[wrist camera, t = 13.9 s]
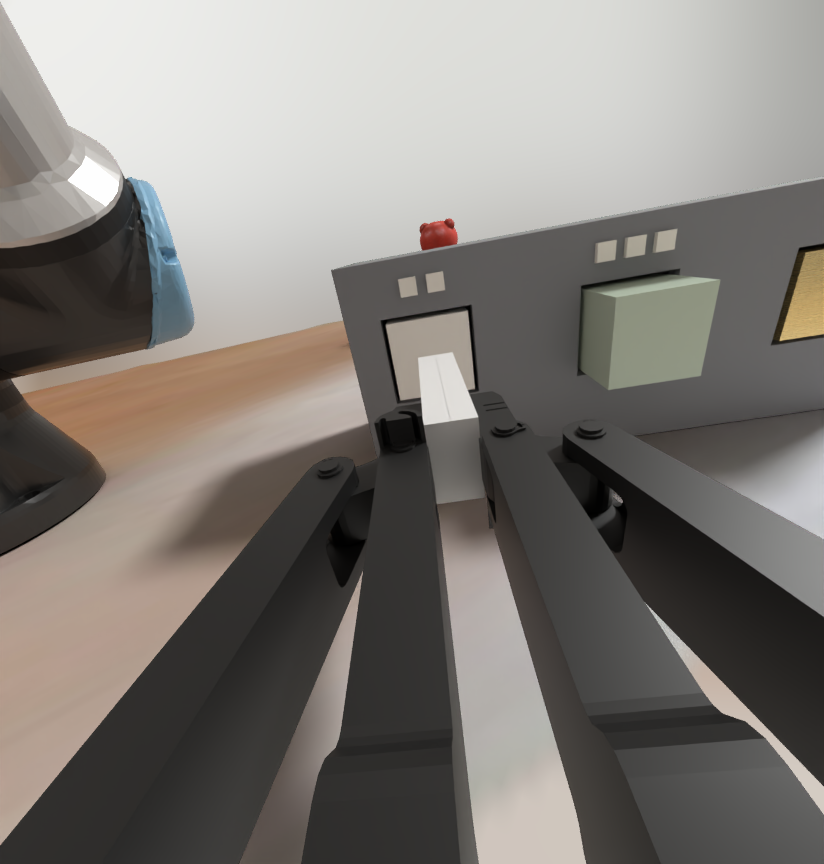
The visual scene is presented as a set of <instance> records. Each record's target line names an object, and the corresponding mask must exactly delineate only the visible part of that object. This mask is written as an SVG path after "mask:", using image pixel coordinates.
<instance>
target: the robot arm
mask: <svg viewBox="0 0 824 864" xmlns="http://www.w3.org/2000/svg"><path fill="white" fill-rule="evenodd" d="M176 254H177V253H176V250H175V247H174V244H173V240H172V236H171V233H170V230H169V227H168V224H167V221H166V218H165V215H164V212H163V210H162V207H161V204H160V202H159V199H158V197H157V195H156V192H155V190H154V188H153V187H152V186H151V185H150V184H149V183H148V182H146V181H142V180H137V179H133V178H132V177H130V178H127V179H125V178H124V176H123V174H122V172H121V170H120V167H119V166H118V164H117V162H116V160H115V159H114V157H113V156H112V155H111V153H110V152H109V151H108V150H107V149H106V148H105V147H104V146H102V145H101V144H100V143H98V142H97V141H96V140H94V139H92V138H91V137H89V136H87V135H85V134H83V133H82V132H80V131H78V130H76V129H74V128H72V127H70V126H68V125H67V123H66V121H65V119H64V118H63V116H62V114H61V112H60V110H59V108H58V106H57V105H56V103H55V101H54V99H53V97H52V95H51V94H50V92H49V90H48V88H47V86H46V85H45V83H44V81H43V79H42V77H41V76H40V74H39V72H38V70H37V68H36V66H35V65H34V63H33V61H32V59H31V57H30V56H29V54H28V52H27V50H26V49H25V46H24V45H23V43H22V41H21V39H20V37H19V36H18V34H17V32H16V30H15V29H14V27H13V25H12V23H11V21H10V19H9V18H8V16H7V14H6V12H5V10H4V8H3V7H2V5H1V3H0V554H1V553H3V552H5V551H7V550H9V549H11V548H13V547H15V546H17V545H19V544H21V543H23V542H25V541H27V540H29V539H30V538H32V537H34V536H36V535H38V534H39V533H41V532H43V531H44V530H46V529H48V528H49V527H51V526H53V525H54V524H56V523H57V522H59V521H61V520H62V519H64V518H65V517H67V516H68V515H69V514H71V513H72V512H74V511H75V510H76V509H78V508H79V507H80V506H82V505H83V504H84V503H85V502H87V501H88V500H89V499H90V498H91V497H92V496H93V495H94V494H95V493H96V492H97V491H98V490H99V489H100V488H101V486H102V485H103V483H104V481H105V479H106V473H105V472H104V470H103V469H102V467H101V466H100V464H99V463H98V461H97V460H96V458H95V457H94V455H93V454H92V453H91V452H90V451H88V450H87V449H86V448H84V447H83V446H82V445H80V444H79V443H77V442H76V441H75V440H73V439H72V438H71V437H69V436H68V435H67V434H65V433H64V432H63V431H61V430H60V429H59V428H57V427H56V426H55V425H53V424H52V423H50V422H49V421H48V420H46V419H45V418H44V417H42V416H41V415H40V414H38V413H37V412H36V411H34V410H33V409H32V408H31V407H30V406H29V404H28V403H27V402H26V400H25V399H24V398H23V396H22V395H21V394H20V392H19V391H18V389H17V388H16V387H15V385H14V384H13V382H12V380H11V378H16V377H20V376H25V375H28V374H33V373H37V372H42V371H47V370H51V369H56V368H61V367H65V366H70V365H74V364H79V363H83V362H88V361H93V360H97V359H102V358H106V357H111V356H116V355H120V354H125V353H129V352H134V351H138V350H143V349H151V348H153V347H155V345H158V344H162V343H165V342H168V341H172V340H175V339H178V338H182V337H183V336H185V335H187V334H188V333H189V332H190V331H191V330H192V328H193V325H194V313H193V308H192V304H191V300H190V296H189V293H188V289H187V285H186V282H185V278H184V275H183V272H182V268H181V265H180V262H179V260H178V258H177V256H176ZM418 363H419V377H420V390H421V403H418V404H411V405H405V406H398V407H396V408H395V409H394V410H393V411H390V412H388V413H385V414H383V415H381V416H380V417H378V418H377V419H376V421H375V422H374V425H375V430H376V434H377V438H378V442H379V446H380V454H379V457H378V458H377V459H375V460H373V461H371V462H369V463H366V464H364V465H361V466H358V467H355V465H354V462H353V460H351V459H349V458H347V457H331V458H328V459H324V460H322V461H321V462H319V463H317V464H315V465H314V466H312V467H311V468H310V469H309V470H308V471H307V472H306V474H305V475H304V476H303V477H302V478H301V480H300V481H299V482H298V483H297V485H296V486H295V487H294V488H293V489H292V491H291V492H290V493H289V494H288V496H287V497H286V498H285V499H284V500H283V502H282V503H281V504H280V505H279V507H278V508H277V509H276V510H275V511H274V513H273V514H272V515H271V516H270V517H269V519H268V520H267V521H266V522H265V524H264V525H263V526H262V527H261V528H260V530H259V531H258V532H257V533H256V535H255V536H254V537H253V538H252V539H251V541H250V542H249V543H248V544H247V546H246V547H245V548H244V549H243V550H242V552H241V553H240V554H239V555H238V556H237V558H236V559H235V560H234V561H233V563H232V564H231V565H230V566H229V567H228V569H227V570H226V571H225V572H224V574H223V575H222V576H221V577H220V578H219V580H218V581H217V582H216V583H215V585H214V586H213V587H212V588H211V589H210V591H209V592H208V593H207V594H206V595H205V597H204V598H203V599H202V600H201V602H200V603H199V604H198V605H197V606H196V608H195V609H194V610H193V611H192V613H191V614H190V615H189V616H188V617H187V619H186V620H185V621H184V622H183V624H182V625H181V626H180V627H179V628H178V630H177V631H176V632H175V633H174V634H173V636H172V637H171V638H170V639H169V641H168V642H167V643H166V644H165V645H164V647H163V648H162V649H161V650H160V652H159V653H158V654H157V655H156V656H155V658H154V659H153V660H152V661H151V663H150V664H149V665H148V666H147V667H146V669H145V670H144V671H143V672H142V673H141V675H140V676H139V677H138V678H137V680H136V681H135V682H134V683H133V684H132V686H131V687H130V688H129V689H128V691H127V692H126V693H125V694H124V695H123V697H122V698H121V699H120V700H119V702H118V703H117V704H116V705H115V706H114V708H113V709H112V710H111V711H110V712H109V714H108V715H107V716H106V717H105V719H104V720H103V721H102V722H101V723H100V725H99V726H98V727H97V728H96V730H95V731H94V732H93V733H92V734H91V736H90V737H89V738H88V739H87V741H86V742H85V743H84V744H83V745H82V747H81V748H80V749H79V750H78V751H77V753H76V754H75V755H74V756H73V758H72V759H71V760H70V761H69V762H68V764H67V765H66V766H65V767H64V769H63V770H62V771H61V772H60V773H59V775H58V776H57V777H56V778H55V780H54V781H53V782H52V783H51V784H50V786H49V787H48V788H47V789H46V790H45V792H44V793H43V794H42V795H41V797H40V798H39V799H38V800H37V801H36V803H35V804H34V805H33V806H32V808H31V809H30V810H29V811H28V812H27V814H26V815H25V816H24V817H23V819H22V820H21V821H20V822H19V823H18V825H17V826H16V827H15V828H14V829H13V831H12V832H11V833H10V834H9V836H8V837H7V838H6V839H5V840H4V842H3V843H2V844H1V845H0V864H239V862H240V859H241V857H242V855H243V852H244V850H245V848H246V845H247V843H248V841H249V838H250V836H251V833H252V831H253V829H254V826H255V824H256V822H257V819H258V817H259V815H260V812H261V810H262V807H263V805H264V803H265V800H266V798H267V796H268V793H269V791H270V789H271V786H272V784H273V781H274V779H275V777H276V774H277V772H278V770H279V767H280V765H281V763H282V760H283V758H284V755H285V753H286V751H287V748H288V746H289V744H290V741H291V739H292V737H293V734H294V732H295V729H296V727H297V725H298V722H299V720H300V718H301V715H302V713H303V711H304V708H305V706H306V704H307V701H308V699H309V696H310V694H311V692H312V689H313V687H314V685H315V682H316V680H317V678H318V675H319V673H320V670H321V668H322V666H323V663H324V661H325V659H326V656H327V654H328V652H329V649H330V647H331V644H332V642H333V640H334V637H335V635H336V633H337V630H338V628H339V626H340V623H341V621H342V618H343V616H344V614H345V611H346V609H347V607H348V604H349V602H350V600H351V597H352V595H353V592H354V590H355V588H356V585H357V583H358V581H359V578H360V576H361V574H362V571H363V576H362V583H361V590H360V597H359V605H358V612H357V619H356V626H355V633H354V641H353V648H352V655H351V662H350V669H349V676H348V684H347V691H346V698H345V705H344V712H343V720H342V727H341V732H340V737H339V740H338V743H337V746H336V748H335V749H334V750H333V751H332V752H331V753H330V754H329V755H328V756H327V757H326V758H325V760H324V762H323V764H322V767H321V769H320V772H319V774H318V778H317V782H316V787H315V791H314V795H313V800H312V804H311V810H310V816H309V822H308V828H307V833H306V839H305V845H304V851H303V856H302V862H301V864H479V863H478V855H477V848H476V841H475V834H474V826H473V819H472V810H471V801H470V792H469V783H468V774H467V765H466V756H465V747H464V738H463V729H462V720H461V711H460V702H459V693H458V684H457V675H456V666H455V658H454V649H453V640H452V631H451V622H450V613H449V604H448V595H447V586H446V577H445V568H444V559H443V550H442V541H441V532H440V523H439V514H438V508H437V504H442V503H449V502H457V501H464V500H472V499H479V498H485V490H486V493H487V504H488V516H489V528H494V531H495V535H496V538H497V541H498V545H499V548H500V552H501V555H502V559H503V562H504V565H505V569H506V572H507V576H508V579H509V582H510V586H511V589H512V593H513V596H514V600H515V603H516V606H517V610H518V613H519V617H520V620H521V624H522V627H523V630H524V634H525V637H526V641H527V644H528V648H529V651H530V654H531V658H532V661H533V665H534V668H535V672H536V675H537V678H538V682H539V685H540V689H541V692H542V696H543V699H544V702H545V706H546V709H547V713H548V716H549V720H550V723H551V726H552V730H553V733H554V737H555V740H556V743H557V747H558V750H559V754H560V757H561V761H562V764H563V767H564V771H565V774H566V778H567V781H568V785H569V788H570V791H571V795H572V798H573V802H574V806H575V809H576V813H577V818H578V822H579V827H580V833H581V838H582V844H583V850H584V855H585V860H586V864H824V815H823V813H822V812H821V811H820V809H819V808H818V806H817V805H816V804H815V802H814V801H813V800H812V798H811V797H810V795H809V794H808V793H807V791H806V790H805V788H804V787H803V786H802V784H801V783H800V781H799V780H798V779H797V778H796V776H795V775H794V773H793V772H792V770H791V769H790V768H789V766H788V765H787V764H786V763H785V761H784V760H783V759H782V758H781V757H780V755H778V753H777V752H776V751H775V749H774V748H773V747H772V746H771V745H770V743H769V742H768V741H767V740H766V739H765V738H764V737H763V736H762V735H761V734H760V733H758V732H757V731H756V730H755V729H754V728H752V727H751V726H750V725H749V724H748V723H746V722H745V721H742V720H739V719H736V718H734V717H730V716H728V715H725V714H723V713H721V712H720V711H719V710H718V709H717V708H716V707H714V706H713V704H712V703H711V702H710V701H709V699H708V698H707V697H706V695H705V694H704V693H703V691H702V690H701V688H700V687H699V685H698V684H697V682H696V680H695V679H694V677H693V676H692V674H691V673H690V671H689V670H688V668H687V667H686V665H685V664H684V662H683V661H682V659H681V657H680V656H679V654H678V653H677V651H676V650H675V648H674V647H673V645H672V644H671V642H670V641H669V639H668V638H667V636H666V635H665V633H664V631H663V630H662V628H661V627H660V625H659V624H658V622H657V621H656V619H655V618H654V616H653V615H652V613H651V612H650V610H649V608H648V607H647V605H648V606H649V607H650V608H651V609H652V610H653V611H654V612H655V613H656V614H657V615H658V616H659V617H660V618H661V619H662V620H663V621H664V622H665V623H666V624H667V625H668V626H669V627H670V628H671V630H672V631H673V632H674V633H675V634H676V635H677V636H678V637H679V638H680V639H681V640H682V641H683V642H684V643H685V644H686V645H687V646H688V647H689V648H690V649H691V650H692V651H693V652H694V653H695V654H696V655H697V656H698V657H699V658H700V659H701V660H702V661H703V662H704V663H705V665H706V666H707V667H708V668H709V669H710V670H711V671H712V672H713V673H714V674H715V675H716V676H717V677H718V678H719V679H720V680H721V681H722V682H723V683H724V684H725V685H726V686H727V687H728V688H729V689H730V690H731V691H732V692H733V693H734V694H735V695H736V696H737V697H738V698H739V700H740V701H741V702H742V703H743V704H744V705H745V706H746V707H747V708H748V709H749V710H750V711H751V712H752V713H753V714H754V715H755V716H756V717H757V718H758V719H759V720H760V721H761V722H762V723H763V724H764V725H765V726H766V727H767V728H768V729H769V730H770V731H771V732H772V733H773V734H774V736H776V738H777V739H779V741H780V742H781V743H782V744H783V745H784V746H785V747H786V748H787V749H788V750H789V751H790V752H791V753H792V754H793V755H794V756H795V757H796V758H797V759H798V760H799V761H800V762H801V763H802V764H803V765H804V766H805V767H806V768H807V770H808V771H810V773H811V774H812V775H814V777H815V778H816V779H817V780H818V781H819V782H820V783H821V784H822V785H823V786H824V539H822V538H820V537H818V536H816V535H815V534H813V533H811V532H809V531H807V530H805V529H804V528H802V527H800V526H798V525H796V524H794V523H793V522H791V521H789V520H787V519H785V518H783V517H782V516H780V515H778V514H776V513H774V512H772V511H770V510H769V509H767V508H765V507H763V506H761V505H759V504H758V503H756V502H754V501H752V500H750V499H748V498H747V497H745V496H743V495H741V494H739V493H737V492H736V491H734V490H732V489H730V488H728V487H726V486H725V485H723V484H721V483H719V482H717V481H715V480H714V479H712V478H710V477H708V476H706V475H704V474H703V473H701V472H699V471H697V470H695V469H693V468H692V467H690V466H688V465H686V464H684V463H682V462H681V461H679V460H677V459H675V458H673V457H671V456H670V455H668V454H666V453H664V452H662V451H660V450H659V449H657V448H655V447H653V446H651V445H649V444H648V443H646V442H644V441H642V440H640V439H638V438H637V437H635V436H633V435H631V434H629V433H627V432H625V431H624V430H622V429H620V428H618V427H616V426H614V425H612V424H610V423H607V422H604V421H598V420H595V419H589V420H588V419H583V420H579V421H574V422H571V423H569V424H567V425H566V426H565V427H564V428H563V437H549V436H538V435H535V434H534V432H533V431H532V429H531V428H530V427H529V426H528V425H527V424H526V423H524V422H521V421H518V420H516V419H515V418H514V416H513V414H512V413H511V411H510V410H509V408H508V406H507V405H506V403H505V401H504V400H503V398H502V396H501V395H499V394H497V393H495V392H493V391H489V392H483V393H476V394H470V395H469V392H468V390H467V387H466V385H465V382H464V380H463V377H462V375H461V372H460V370H459V367H458V365H457V362H456V360H455V357H454V355H453V352H451V353H445V354H438V355H432V356H426V357H420V358H418ZM484 487H485V488H484ZM614 491H615V492H616V493H617V494H618V495H619V496H620V497H621V498H622V500H623V503H620V502H618V501H617V500H616V499H615V498H613V495H614ZM645 603H646V604H647V605H646V604H645Z"/></svg>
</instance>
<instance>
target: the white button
mask: <svg viewBox="0 0 824 864" xmlns="http://www.w3.org/2000/svg"><path fill="white" fill-rule="evenodd" d="M386 329H387V334H388V339H389V344H390V349H391V355H392V360H393V365H394V370H395V375H396V380H397V385H398V390H399V396H400V401H401V400H407V399H413V398H420V397H421V390H420V377H419V363H418V358H420V357H426V356H432V355H438V354H445V353H451V352H453V355H454V357H455V360H456V362H457V365H458V367H459V370H460V372H461V375H462V377H463V380H464V382H465V385H466V387H467V390H471V389H475V384H474V373H473V362H472V351H471V340H470V330H469V319H468V311H467V310H466V308H465V307H464V306H461V307H455V308H449V309H443V310H437V311H432V312H426V313H420V314H414V315H409V316H403V317H397V318H391V319H388V320H387V323H386Z"/></svg>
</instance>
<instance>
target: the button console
mask: <svg viewBox="0 0 824 864" xmlns="http://www.w3.org/2000/svg"><path fill="white" fill-rule="evenodd" d="M823 243H824V176H823V177H817V178H812V179H805V180H800V181H794V182H789V183H783V184H778V185H773V186H767V187H762V188H757V189H751V190H746V191H741V192H735V193H730V194H724V195H719V196H713V197H708V198H703V199H697V200H692V201H687V202H681V203H676V204H670V205H665V206H660V207H654V208H649V209H644V210H638V211H633V212H628V213H622V214H617V215H612V216H606V217H601V218H595V219H590V220H585V221H579V222H574V223H569V224H563V225H558V226H552V227H547V228H542V229H536V230H531V231H526V232H520V233H516V234H509V235H504V236H499V237H494V238H488V239H483V240H477V241H472V242H466V243H462V244H456V245H450V246H445V247H440V248H434V249H429V250H424V251H418V252H413V253H407V254H402V255H397V256H391V257H386V258H381V259H375V260H370V261H365V262H359V263H354V264H351V265H347V266H344V267H341V268H337V269H334V270H331V272H332V276H333V280H334V284H335V288H336V292H337V296H338V300H339V304H340V308H341V313H342V317H343V321H344V325H345V329H346V333H347V337H348V341H349V345H350V349H351V353H352V357H353V361H354V365H355V369H356V373H357V378H358V382H359V386H360V390H361V394H362V398H363V402H364V406H365V410H366V414H367V418H368V422H369V426H370V430H371V434H372V438H373V443H374V447H375V451H376V455H377V458H378V457H379V454H380V446H379V442H378V438H377V434H376V430H375V425H374V422H375V421H376V419H377V418H378V417H380V416H381V415H383V414H385V413H388V412H390V411H393V410H394V409H395V408H396V407H398V406H405V405H411V404H418V403H421V397H420V398H413V399H407V400H401V401H400V396H399V390H398V385H397V380H396V375H395V370H394V365H393V360H392V355H391V349H390V344H389V339H388V334H387V329H386V323H387V320H388V319H391V318H397V317H403V316H409V315H414V314H420V313H426V312H432V311H437V310H443V309H449V308H455V307H461V306H464V307H465V308H466V310H467V311H468V319H469V330H470V340H471V351H472V362H473V373H474V384H475V389H471V390H468V392H469V395H470V394H476V393H483V392H489V391H493V392H495V393H497V394H499V395H501V396H502V398H503V400H504V401H505V403H506V405H507V406H508V408H509V410H510V411H511V413H512V414H513V416H514V418H515V419H516V420H518V421H521V422H524V423H526V424H527V425H528V426H529V427H530V428H531V429H532V431H533V432H534V434H535V435H538V436H549V437H563V428H564V427H565V426H566V425H567V424H569V423H571V422H574V421H579V420H583V419H588V420H589V419H595V420H598V421H604V422H607V423H610V424H612V425H614V426H616V427H618V428H620V429H622V430H624V431H625V432H627V433H629V434H631V435H633V436H637V435H644V434H651V433H658V432H665V431H672V430H679V429H686V428H693V427H700V426H707V425H714V424H721V423H728V422H735V421H742V420H749V419H756V418H763V417H770V416H777V415H784V414H791V413H798V412H805V411H812V410H819V409H824V334H821V335H814V336H808V337H802V338H795V339H789V340H782V341H778V340H774V339H773V336H774V333H775V329H776V326H777V322H778V319H779V315H780V312H781V308H782V305H783V301H784V298H785V294H786V291H787V288H788V284H789V281H790V277H791V274H792V270H793V267H794V263H795V260H796V256H797V253H798V249H799V248H800V247H806V246H811V245H817V244H823ZM650 273H662V274H671V275H681V276H691V277H700V278H710V279H719V280H720V285H719V290H718V295H717V300H716V304H715V309H714V314H713V319H712V324H711V328H710V333H709V338H708V343H707V348H706V353H705V357H704V362H703V367H702V372H701V376H697V377H690V378H684V379H677V380H671V381H664V382H658V383H651V384H645V385H638V386H631V387H625V388H618V389H612V390H607V389H606V388H605V387H603V386H602V385H601V384H599V383H598V382H596V381H595V380H594V379H592V378H591V377H589V376H588V375H587V374H585V373H584V372H583V371H581V370H580V369H578V368H577V366H578V344H579V321H580V299H581V285H587V284H593V283H599V282H604V281H610V280H616V279H622V278H627V277H633V276H639V275H645V274H650Z"/></svg>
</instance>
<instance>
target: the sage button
mask: <svg viewBox="0 0 824 864" xmlns="http://www.w3.org/2000/svg"><path fill="white" fill-rule="evenodd" d="M719 285H720V280H719V279H710V278H700V277H691V276H681V275H671V274H662V273H650V274H645V275H639V276H633V277H627V278H622V279H616V280H610V281H604V282H599V283H593V284H587V285H581V299H580V321H579V344H578V366H577V368H578V369H580V370H581V371H583V372H584V373H585V374H587V375H588V376H589V377H591V378H592V379H594V380H595V381H596V382H598V383H599V384H601V385H602V386H603V387H605V388H606V389H607V390H612V389H618V388H625V387H631V386H638V385H645V384H651V383H658V382H664V381H671V380H677V379H684V378H690V377H697V376H701V372H702V367H703V362H704V357H705V353H706V348H707V343H708V338H709V333H710V328H711V324H712V319H713V314H714V309H715V304H716V300H717V295H718V290H719Z"/></svg>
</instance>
